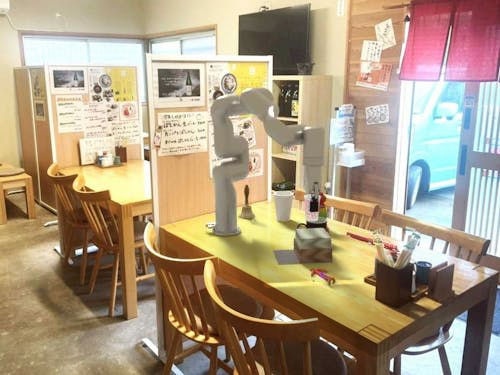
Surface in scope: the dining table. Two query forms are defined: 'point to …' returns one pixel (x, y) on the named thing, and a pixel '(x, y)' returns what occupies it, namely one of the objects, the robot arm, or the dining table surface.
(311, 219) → the beverage cup
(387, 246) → the long red tool
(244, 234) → the dining table surface
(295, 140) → the robot arm
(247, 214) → the hand bell
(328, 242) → the marbled stone cube
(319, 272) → the toy figure
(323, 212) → the stacking bear
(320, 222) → the coffee mug
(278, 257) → the base board
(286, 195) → the foam cup
